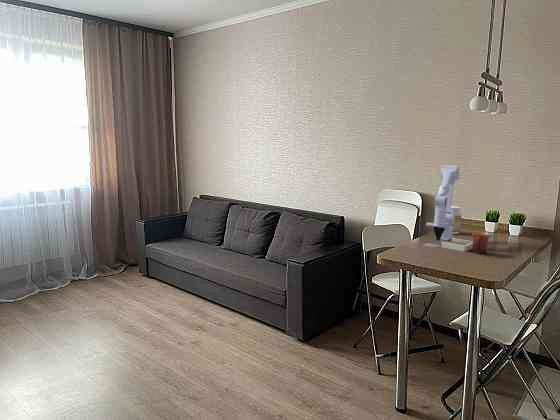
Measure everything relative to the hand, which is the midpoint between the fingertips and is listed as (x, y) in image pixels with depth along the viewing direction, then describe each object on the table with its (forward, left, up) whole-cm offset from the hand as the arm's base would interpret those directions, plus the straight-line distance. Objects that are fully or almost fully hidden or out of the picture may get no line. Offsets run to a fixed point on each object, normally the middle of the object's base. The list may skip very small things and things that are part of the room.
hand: (438, 240), depth 243 cm
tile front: (0, +14, -2) cm, 14 cm away
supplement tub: (-37, -7, -2) cm, 38 cm away
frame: (0, +11, -2) cm, 11 cm away
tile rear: (0, +9, -2) cm, 9 cm away
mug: (+6, +24, -2) cm, 25 cm away
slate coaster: (+8, 0, -3) cm, 8 cm away
